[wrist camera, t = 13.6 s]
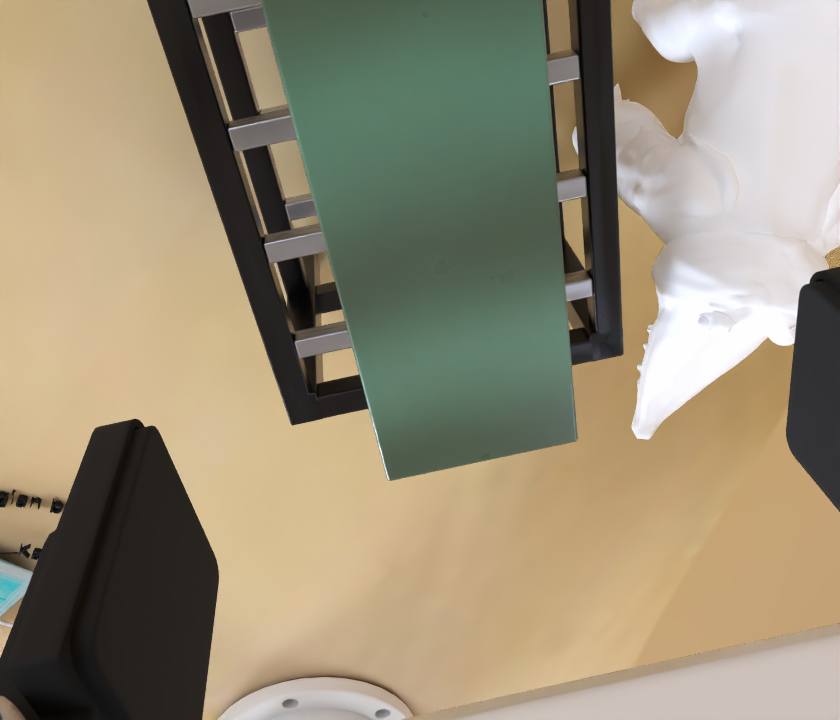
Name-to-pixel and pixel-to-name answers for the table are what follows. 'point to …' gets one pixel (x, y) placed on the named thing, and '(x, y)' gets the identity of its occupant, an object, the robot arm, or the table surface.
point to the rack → (296, 248)
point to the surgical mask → (10, 581)
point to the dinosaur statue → (732, 184)
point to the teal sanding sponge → (437, 217)
